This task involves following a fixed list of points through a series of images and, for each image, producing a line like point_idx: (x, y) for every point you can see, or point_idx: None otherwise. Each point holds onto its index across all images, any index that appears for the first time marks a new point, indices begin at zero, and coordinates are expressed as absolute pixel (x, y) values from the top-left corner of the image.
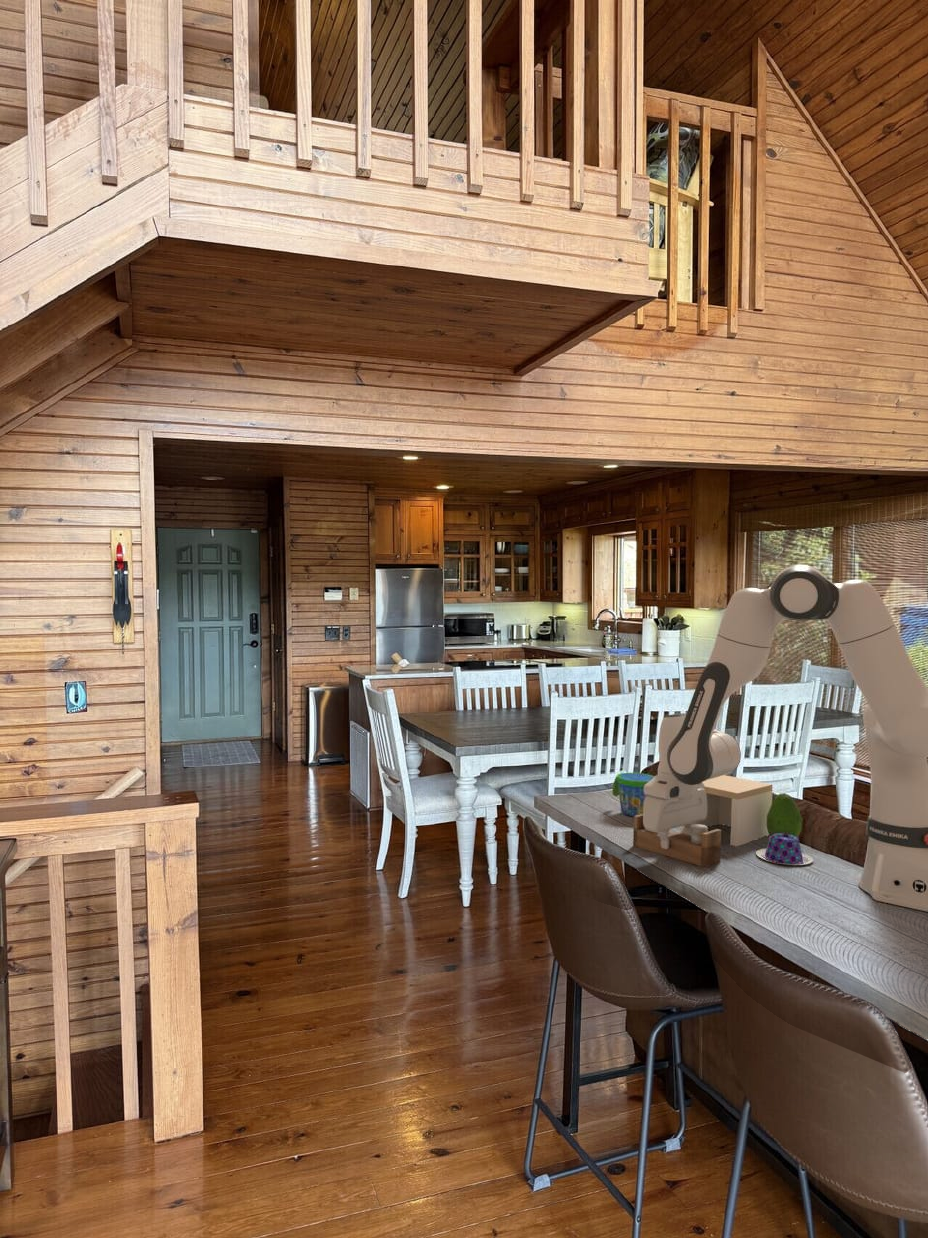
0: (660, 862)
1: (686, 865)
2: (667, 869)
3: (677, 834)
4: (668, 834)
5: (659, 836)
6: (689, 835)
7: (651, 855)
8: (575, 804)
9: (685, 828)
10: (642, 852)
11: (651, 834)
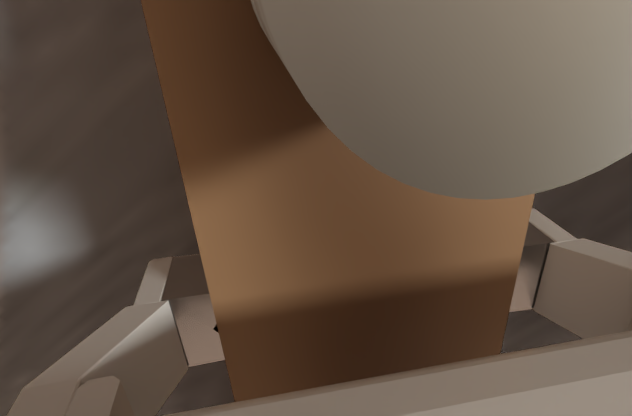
0: (56, 305)
1: (193, 397)
2: (6, 410)
3: (437, 286)
4: (351, 245)
5: (81, 346)
6: (494, 351)
7: (106, 153)
8: None
9: (618, 287)
10: (79, 36)
11: (166, 98)
